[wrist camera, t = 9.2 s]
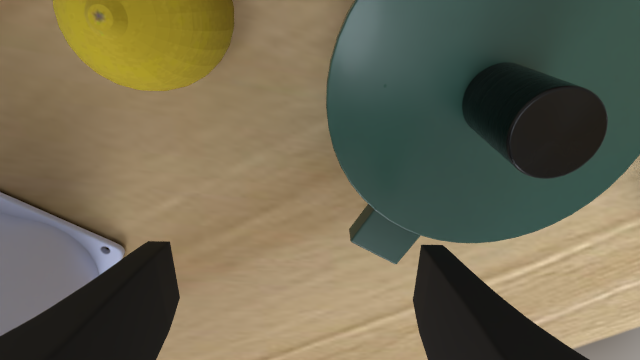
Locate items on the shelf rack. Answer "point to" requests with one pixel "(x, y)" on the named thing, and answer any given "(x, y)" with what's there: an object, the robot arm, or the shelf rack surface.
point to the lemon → (148, 38)
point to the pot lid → (484, 110)
